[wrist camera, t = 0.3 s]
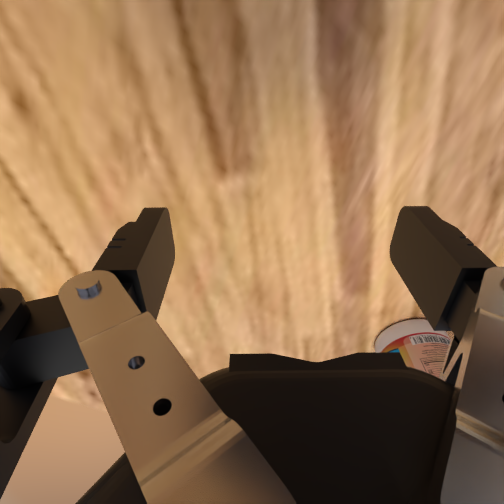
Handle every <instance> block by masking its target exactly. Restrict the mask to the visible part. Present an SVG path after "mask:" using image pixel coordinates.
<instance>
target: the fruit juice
mask: <svg viewBox="0 0 504 504" xmlns="http://www.w3.org/2000/svg"><path fill="white" fill-rule="evenodd" d="M450 341H451V339H450V337H449V336H448V334H447V333H446V331H434V330H433V328H432V327H431V325H430V324H429V322H428V320H426V319H412V320H406V321H402V322H399V323H396V324H394V325H392V326H390V327H388V328H387V329H385V330H384V331H383V332H382V333H381V334H380V335H379V336H378V338H377V339H376V342H375V353H378V352H400V354H401V356H402V358H403V360H404V362H405V364H406V366H407V367H412V368H415V369H418V370H422V371H424V372H427V373H429V374H432V375H434V376H436V377H438V378H439V375H440V372H441V369H442V366H443V363H444V360H445V356H446V353H447V350H448V347H449V344H450Z"/></svg>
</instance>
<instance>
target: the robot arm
mask: <svg viewBox="0 0 504 504" xmlns="http://www.w3.org/2000/svg"><path fill="white" fill-rule="evenodd" d="M390 258H391V261H392V263H393V265H394V267H395V268H396V270H397V271H398V273H399V275H400V276H401V278H402V280H403V281H404V283H405V284H406V286H407V288H408V289H409V291H410V293H411V294H412V296H413V297H414V299H415V301H416V302H417V304H418V306H419V307H420V309H421V310H422V312H423V314H424V315H425V317H426V319H427V320H428V322H429V324H430V325H431V327H432V328H433V330H434V331H452V332H453V333H454V335H453V337H452V339H451V341H450V344H449V347H448V350H447V353H446V356H445V360H444V363H443V366H442V369H441V372H440V375H439V378H438V377H436V376H434V375H432V374H429V373H427V372H424V371H422V370H418V369H415V368H412V367H407V366H406V364H405V362H404V360H403V358H402V356H401V354H400V352H378V353H355V354H351V355H347V356H343V357H339V358H335V359H331V360H327V361H323V362H310V361H305V360H300V359H296V358H291V357H286V356H281V355H276V354H230V363H229V367H228V368H224V369H221V370H218V371H216V372H213V373H211V374H209V375H207V376H205V377H203V378H201V379H200V380H199V379H198V378H197V376H196V375H195V373H194V372H193V371H192V369H191V368H190V367H189V365H188V364H187V362H186V361H185V360H184V358H183V357H182V356H181V354H180V353H179V352H178V350H177V349H176V347H175V346H174V345H173V343H172V342H171V341H170V339H169V338H168V337H167V335H166V334H165V332H164V331H163V330H162V328H161V327H160V326H159V324H158V323H157V321H156V319H157V316H158V313H159V310H160V306H161V303H162V300H163V297H164V294H165V290H166V287H167V284H168V281H169V278H170V274H171V271H172V268H173V265H174V260H175V247H174V240H173V234H172V228H171V221H170V215H169V211H168V209H167V208H144V209H143V210H142V212H141V214H140V215H139V217H138V219H137V221H136V222H128V223H127V224H125V225H124V226H123V227H121V228H120V229H118V230H117V232H116V234H115V235H114V237H113V238H112V241H110V243H109V244H108V246H107V248H106V249H105V251H104V252H103V254H102V255H101V257H100V258H99V260H98V262H97V263H96V265H95V266H94V268H93V269H92V271H88V272H84V273H81V274H79V275H76V276H74V277H72V278H71V279H69V280H68V281H67V282H65V283H64V284H63V285H62V287H61V288H60V290H59V293H58V295H56V296H52V297H47V298H42V299H38V300H33V301H28V302H25V300H24V298H23V296H22V294H21V293H20V292H19V291H18V290H16V289H12V288H1V289H0V499H1V497H2V495H3V493H4V490H5V488H6V486H7V484H8V482H9V480H10V478H11V476H12V474H13V471H14V469H15V467H16V465H17V463H18V461H19V459H20V456H21V454H22V452H23V450H24V448H25V446H26V444H27V441H28V439H29V437H30V435H31V433H32V431H33V429H34V427H35V425H36V422H37V421H38V418H39V416H40V414H41V412H42V410H43V408H44V406H45V404H46V402H47V399H48V397H49V395H50V393H51V391H52V389H53V387H54V385H55V383H56V380H57V378H58V377H61V376H64V375H68V374H71V373H75V372H79V371H82V370H86V369H90V372H91V374H92V376H93V379H94V381H95V383H96V386H97V388H98V390H99V392H100V395H101V397H102V399H103V402H104V404H105V406H106V409H107V411H108V413H109V415H110V418H111V420H112V422H113V425H114V427H115V429H116V432H117V434H118V436H119V439H120V441H121V443H122V445H123V448H124V450H125V453H124V454H123V455H122V456H121V457H120V458H119V459H118V460H117V461H116V462H115V463H114V464H113V465H112V466H111V467H110V469H108V471H107V472H106V473H105V474H104V475H103V476H102V477H101V478H100V479H99V480H98V481H97V482H96V483H95V484H94V485H93V486H92V487H91V488H90V489H89V490H88V491H87V492H86V493H85V495H83V497H82V498H81V499H80V500H79V501H78V502H77V503H76V504H504V267H497V266H496V265H495V264H494V263H493V262H492V261H491V260H490V259H489V258H488V257H487V256H486V255H485V254H484V253H483V252H482V251H481V250H480V249H479V248H477V247H476V246H474V244H473V243H472V242H471V241H470V240H469V239H468V238H466V236H465V235H464V234H463V233H462V232H461V231H460V230H459V229H458V228H456V227H455V226H453V225H451V224H449V223H447V222H445V221H443V220H442V219H441V218H440V217H439V216H438V215H437V214H436V213H435V212H434V211H432V210H431V209H430V208H429V207H428V206H404V207H403V208H402V209H401V210H400V213H399V216H398V219H397V223H396V227H395V230H394V234H393V237H392V241H391V245H390Z"/></svg>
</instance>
